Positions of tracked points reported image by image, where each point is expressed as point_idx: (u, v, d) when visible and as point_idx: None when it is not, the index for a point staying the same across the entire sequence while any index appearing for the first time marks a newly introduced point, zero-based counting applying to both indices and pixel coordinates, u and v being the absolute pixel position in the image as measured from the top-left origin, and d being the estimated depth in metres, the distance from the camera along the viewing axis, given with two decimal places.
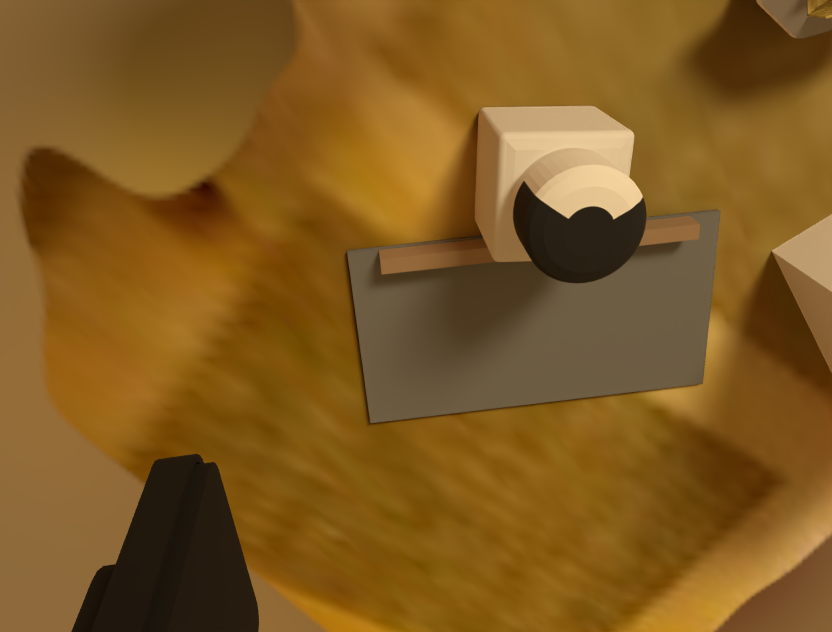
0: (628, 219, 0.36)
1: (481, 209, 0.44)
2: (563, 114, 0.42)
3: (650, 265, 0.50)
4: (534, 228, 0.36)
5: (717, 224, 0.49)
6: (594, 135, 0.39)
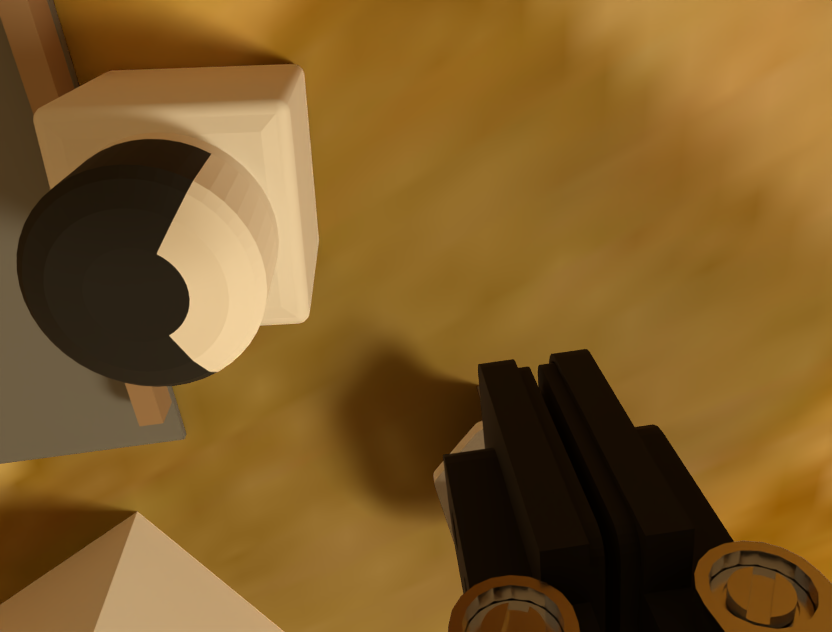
0: (172, 360, 0.19)
1: (131, 80, 0.25)
2: (310, 202, 0.27)
3: None
4: (123, 188, 0.17)
5: (164, 440, 0.34)
6: (298, 263, 0.23)
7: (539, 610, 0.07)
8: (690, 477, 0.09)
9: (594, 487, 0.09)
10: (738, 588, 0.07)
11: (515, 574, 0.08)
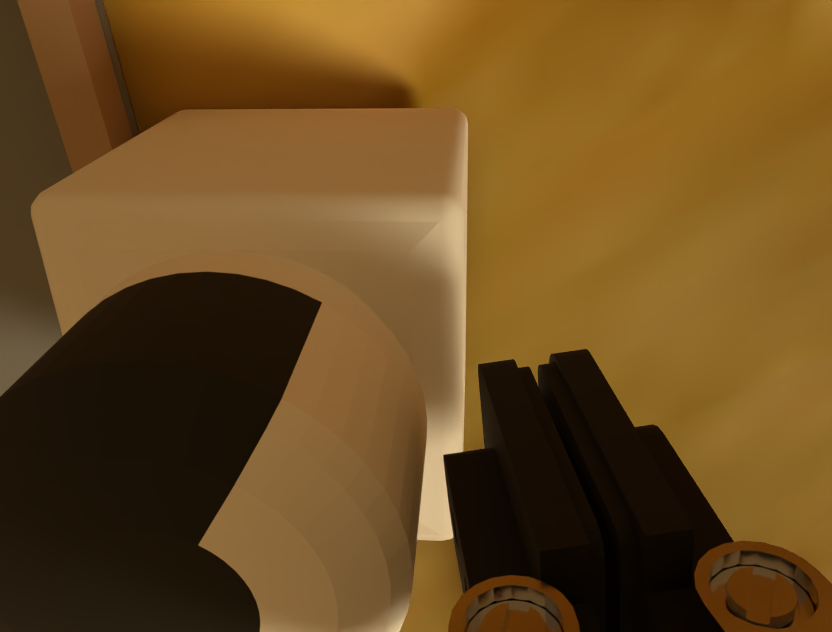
0: None
1: (206, 132, 0.16)
2: None
3: None
4: (137, 415, 0.08)
5: None
6: None
7: (539, 610, 0.07)
8: (690, 477, 0.09)
9: (594, 487, 0.09)
10: (738, 588, 0.07)
11: (515, 574, 0.08)
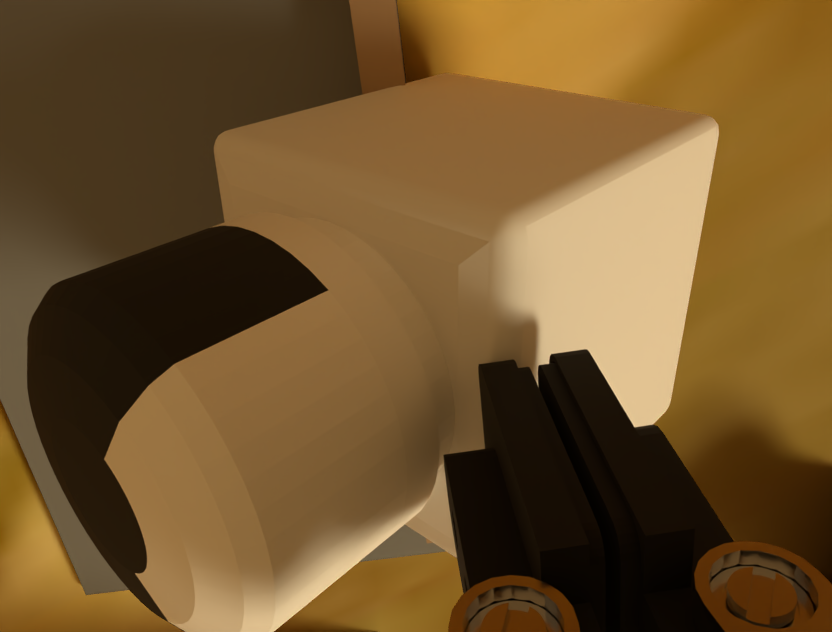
0: (147, 602, 0.11)
1: (423, 99, 0.16)
2: (633, 363, 0.15)
3: None
4: (80, 335, 0.10)
5: (433, 549, 0.26)
6: None
7: (539, 610, 0.07)
8: (690, 477, 0.09)
9: (594, 487, 0.09)
10: (738, 588, 0.07)
11: (515, 574, 0.08)
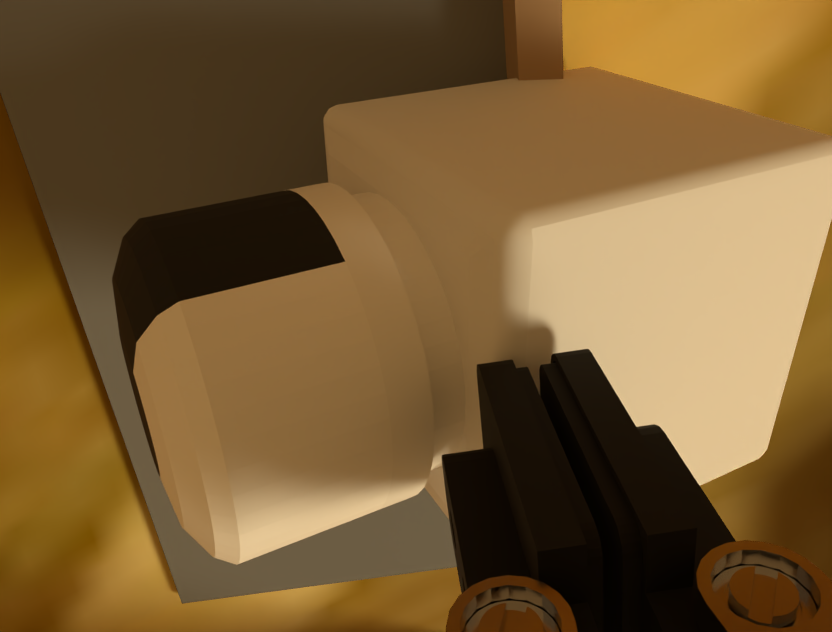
0: None
1: (540, 91, 0.16)
2: (701, 396, 0.14)
3: None
4: (129, 265, 0.11)
5: None
6: None
7: (536, 610, 0.07)
8: (692, 477, 0.09)
9: (596, 487, 0.09)
10: (740, 587, 0.07)
11: (513, 574, 0.08)
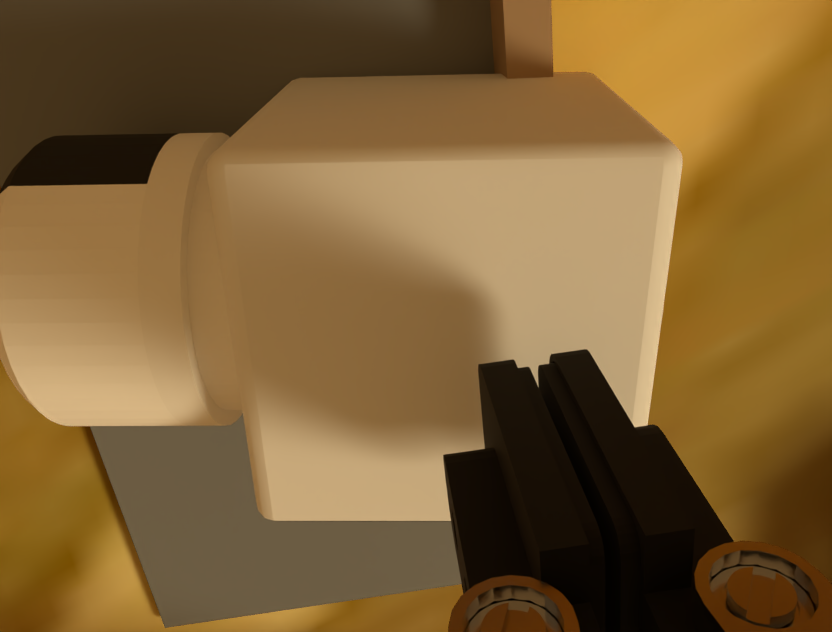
0: None
1: (480, 84, 0.16)
2: None
3: None
4: None
5: None
6: (246, 428, 0.13)
7: (539, 610, 0.07)
8: (690, 477, 0.09)
9: (594, 487, 0.09)
10: (738, 588, 0.07)
11: (515, 574, 0.08)
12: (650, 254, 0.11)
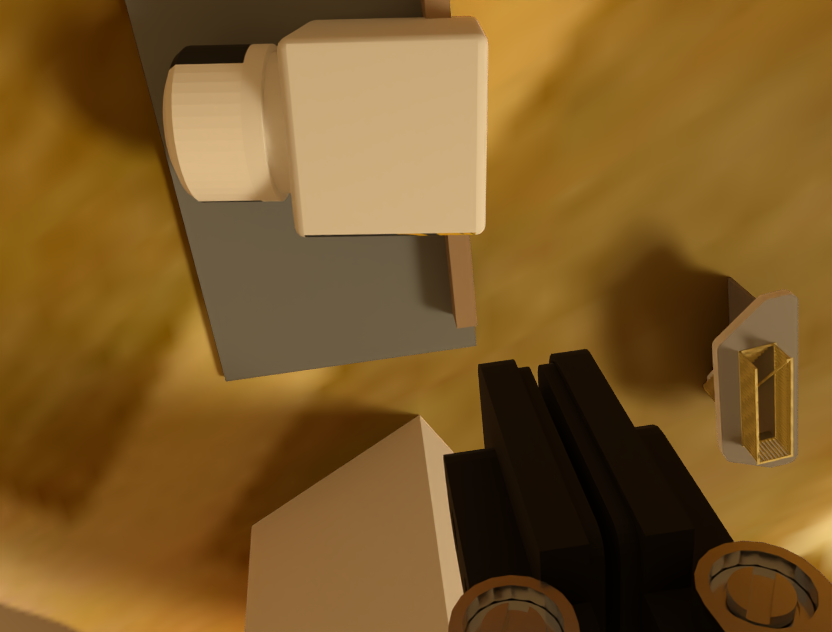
0: None
1: (410, 20, 0.30)
2: (411, 167, 0.27)
3: (404, 277, 0.37)
4: None
5: (458, 346, 0.39)
6: (291, 182, 0.27)
7: (539, 610, 0.07)
8: (690, 477, 0.09)
9: (594, 487, 0.09)
10: (738, 588, 0.07)
11: (515, 574, 0.08)
12: (476, 86, 0.26)
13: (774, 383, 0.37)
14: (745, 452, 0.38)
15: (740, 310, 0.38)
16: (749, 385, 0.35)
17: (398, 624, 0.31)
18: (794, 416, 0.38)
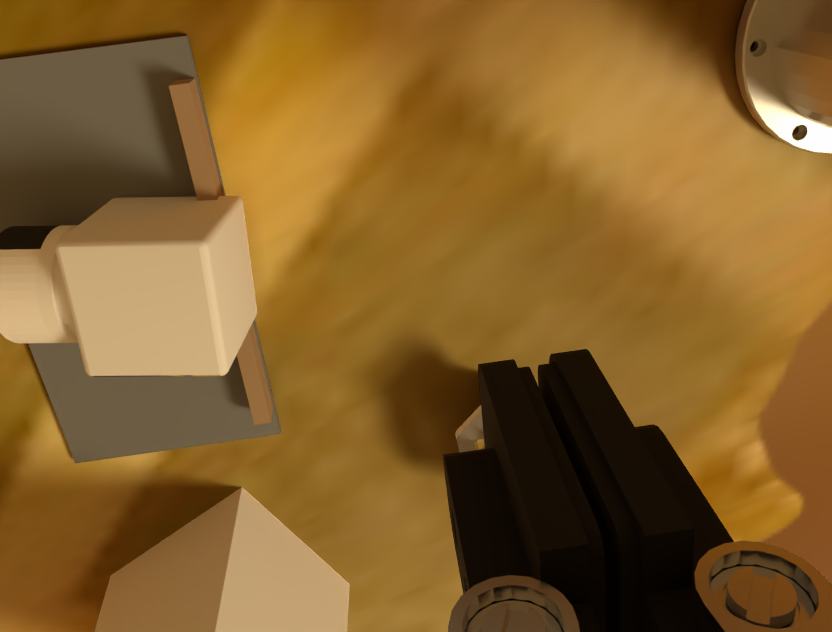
0: None
1: (182, 204, 0.39)
2: (164, 330, 0.36)
3: (213, 382, 0.46)
4: None
5: (265, 434, 0.48)
6: (77, 338, 0.36)
7: (539, 610, 0.07)
8: (690, 477, 0.09)
9: (594, 487, 0.09)
10: (738, 588, 0.07)
11: (515, 574, 0.08)
12: (203, 276, 0.34)
13: None
14: None
15: None
16: None
17: None
18: None
